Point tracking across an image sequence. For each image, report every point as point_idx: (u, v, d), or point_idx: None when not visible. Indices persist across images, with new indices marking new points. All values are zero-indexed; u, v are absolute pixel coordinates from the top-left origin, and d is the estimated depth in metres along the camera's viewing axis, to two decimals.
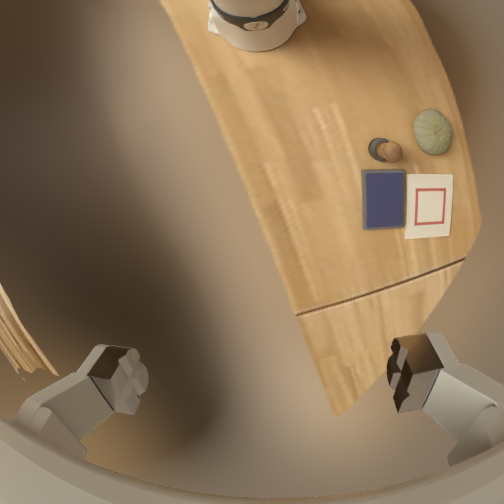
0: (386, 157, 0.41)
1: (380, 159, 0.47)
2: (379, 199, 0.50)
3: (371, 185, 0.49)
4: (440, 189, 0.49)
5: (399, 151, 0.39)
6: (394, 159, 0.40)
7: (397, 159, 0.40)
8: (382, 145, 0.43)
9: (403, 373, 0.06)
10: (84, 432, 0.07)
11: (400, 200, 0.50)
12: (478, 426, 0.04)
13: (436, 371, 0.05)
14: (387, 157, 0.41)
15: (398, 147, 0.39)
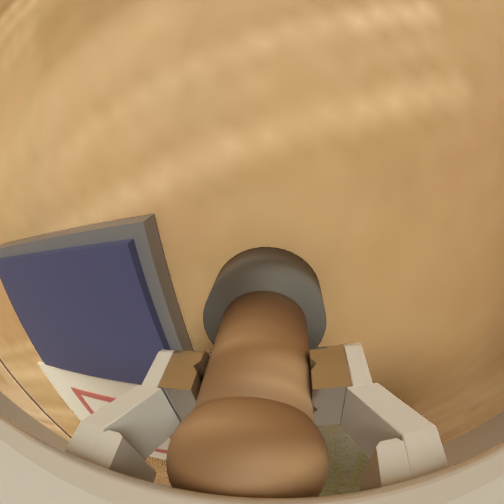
0: (185, 456, 0.04)
1: (211, 317, 0.10)
2: (62, 303, 0.11)
3: (92, 272, 0.10)
4: None
5: None
6: None
7: None
8: (292, 372, 0.06)
9: (311, 385, 0.06)
10: (147, 451, 0.06)
11: (93, 370, 0.13)
12: (375, 458, 0.04)
13: (342, 388, 0.06)
14: (184, 468, 0.04)
15: None
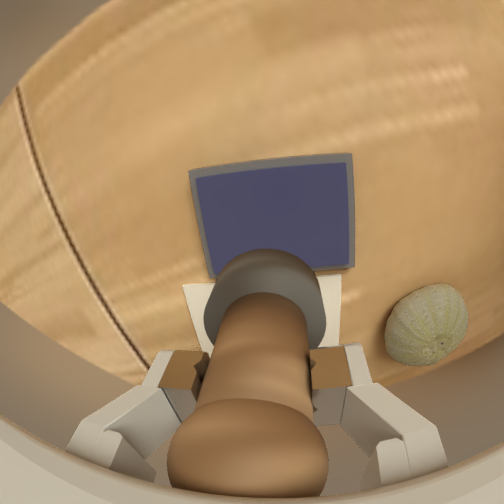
0: (185, 458, 0.04)
1: (211, 318, 0.10)
2: (277, 204, 0.20)
3: (315, 179, 0.19)
4: None
5: None
6: None
7: None
8: (292, 374, 0.06)
9: (311, 386, 0.06)
10: (147, 451, 0.06)
11: None
12: (375, 458, 0.04)
13: (342, 388, 0.06)
14: (185, 470, 0.04)
15: None
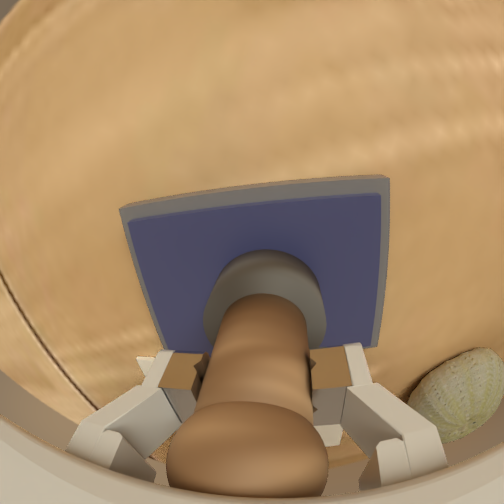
0: (184, 461, 0.04)
1: (210, 320, 0.10)
2: None
3: (328, 224, 0.11)
4: None
5: None
6: None
7: None
8: (292, 376, 0.06)
9: (311, 385, 0.06)
10: (147, 451, 0.06)
11: None
12: (375, 458, 0.04)
13: (342, 388, 0.06)
14: (184, 473, 0.04)
15: None
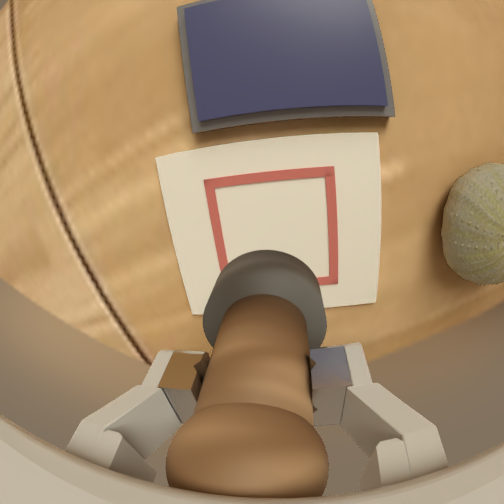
0: (184, 462, 0.04)
1: (210, 320, 0.10)
2: (286, 25, 0.12)
3: (331, 3, 0.11)
4: (333, 263, 0.18)
5: None
6: None
7: None
8: (292, 377, 0.06)
9: (311, 385, 0.06)
10: (147, 451, 0.06)
11: (291, 97, 0.14)
12: (375, 458, 0.04)
13: (342, 388, 0.06)
14: (184, 475, 0.04)
15: None
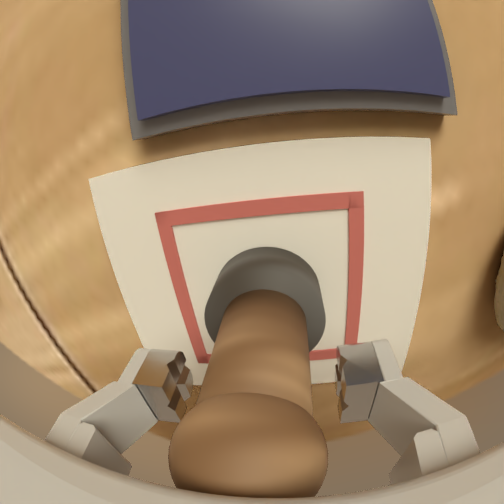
0: (187, 451, 0.04)
1: (212, 315, 0.10)
2: None
3: None
4: (352, 331, 0.12)
5: None
6: None
7: None
8: (292, 369, 0.06)
9: (342, 382, 0.06)
10: (125, 446, 0.06)
11: (294, 72, 0.07)
12: (412, 449, 0.04)
13: (374, 384, 0.06)
14: (186, 463, 0.04)
15: None
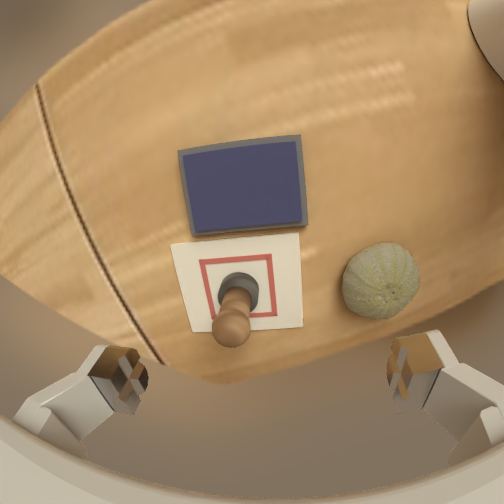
0: (217, 319, 0.24)
1: (220, 295, 0.30)
2: (243, 173, 0.26)
3: (272, 154, 0.25)
4: (274, 304, 0.33)
5: (231, 344, 0.24)
6: (215, 335, 0.24)
7: (217, 340, 0.24)
8: (242, 306, 0.27)
9: (403, 373, 0.06)
10: (84, 433, 0.07)
11: (245, 220, 0.28)
12: (478, 426, 0.04)
13: (436, 371, 0.05)
14: (217, 322, 0.24)
15: (240, 342, 0.24)
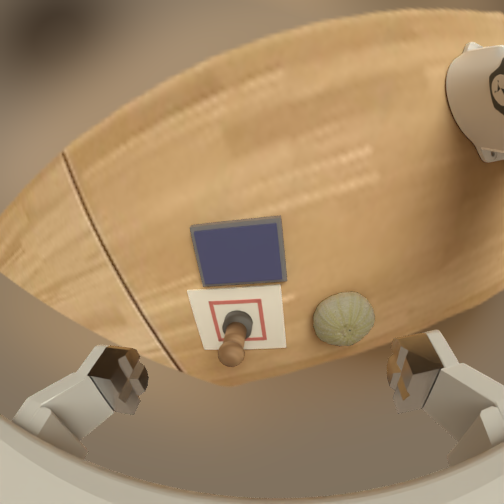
0: (221, 349, 0.36)
1: (224, 327, 0.41)
2: (238, 247, 0.37)
3: (259, 233, 0.36)
4: (264, 332, 0.44)
5: (231, 365, 0.35)
6: (220, 359, 0.35)
7: (221, 362, 0.36)
8: (239, 338, 0.38)
9: (404, 372, 0.06)
10: (84, 433, 0.07)
11: (241, 278, 0.39)
12: (478, 426, 0.04)
13: (436, 371, 0.05)
14: (221, 350, 0.35)
15: (236, 364, 0.35)
